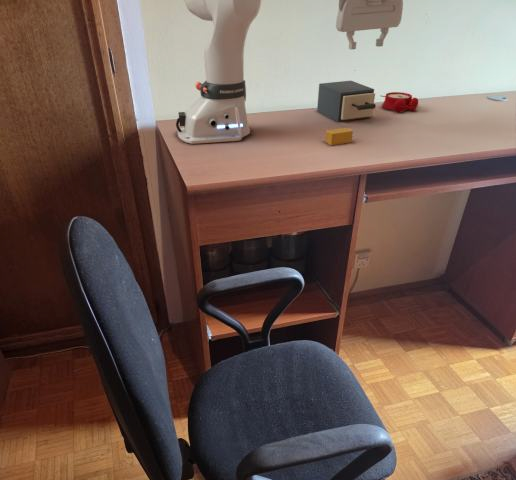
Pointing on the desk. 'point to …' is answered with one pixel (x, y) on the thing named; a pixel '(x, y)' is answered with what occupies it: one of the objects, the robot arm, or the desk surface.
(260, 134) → the desk surface
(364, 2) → the robot arm
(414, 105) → the alarm clock
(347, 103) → the drawer
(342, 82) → the cabinet
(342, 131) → the yellow rectangular block
